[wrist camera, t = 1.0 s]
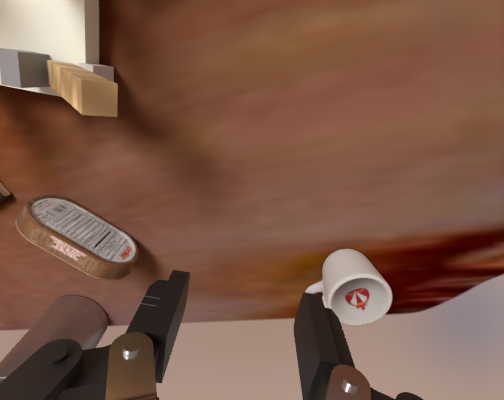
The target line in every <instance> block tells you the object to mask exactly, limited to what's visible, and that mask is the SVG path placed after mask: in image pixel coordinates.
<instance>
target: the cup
mask: <svg viewBox="0 0 504 400" xmlns="http://www.w3.org/2000/svg"><path fill="white" fill-rule="evenodd" d="M322 274H323V278H322V281H320V282H318V283H315V284H313V285H311V286H309V287H308V288H307V289H306V291H305V292H306V293H312V294H315V293H317V292H322V293H323V297H322V299H323V303H324V306H325V308H330V309H332V310H333V311H334V313H335V314H336V315H337V316H338V318H339V320H340V322H341V323H343V324H346V325H351V326H363V325H368V324H371V323H373V322H375V321H377V320H379V319H380V318H381V317H383V316H384V315H385V314H386V313H387V311H388V310H389V308H390V306H391V303H392V291H391V288H390V286H389V285H388V283H387V282H386V281H385V280H384V278H383V277H382V276H381V275H380V274H379V272H378V271H377V270H376V269H375V268H374V266H373V265H372V264H371V263H370V261H369V260H368V259H367V258H366V257H365V256H364V255H363V254H362V253H360V252H358V251H356V250H353V249H341V250H337V251H335V252H333V253H332V254H330V255H329V256H328V257H327V259H326V260H325V262H324V264H323V270H322Z"/></svg>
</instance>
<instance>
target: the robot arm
mask: <svg viewBox="0 0 504 400" xmlns="http://www.w3.org/2000/svg"><path fill="white" fill-rule="evenodd" d="M189 278H190V273H189V272H184V271H178V270H173V271H172V273H171V276H170V278H169V280H168V281H165V280H159V279H158V280H157V281H156V282H155V283H153V284H152V285H151V286H150V287H149V289H148V291H147V293H146V294H145V297H144V298H143V300H142V302H141V304H140V306H139V308H138V310H137V312H136V314H135V316H134V318H133V320H132V321H131V323H130V325H129V327H128V329H127V331H126V333H125V334H123V335H121V336H120V337H118V338H117V339H115V340H114V342H113V343H112V344H111V345H108V346H106V347H101V348H95V347H96V346H97V344H98V343H99V341H100V339H101V338H102V336H103V334H104V333H105V331H106V329H107V326H108V320H107V316H106V314H105V312H104V311H103V309H102V308H101V307H100V306H99V305H98V304H97V303H95V302H94V301H92V300H90V299H88V298H85V297H81V296H74V295H72V296H65V297H62V298H60V299H58V300H57V301H56V302H54V303H53V305H52V306H51V307H50V308H49V309H48V310H47V311H46V312H45V313H44V315H43V316H42V317H41V318H40V319H39V320H38V321H37V322H36V323H35V324H34V325H33V327H32V328H31V329H30V330H29V331H28V332H27V333H26V334H25V335H24V337H23V338H22V339H21V340H20V341H19V342H18V343H17V344H16V345H15V347H14V348H13V349H12V350H11V351H10V352H9V353H8V354H7V355H6V357H5V358H4V359H3V360H2V361H1V362H0V400H159V398H158V397H157V392H156V382H157V383H162V380H163V377H164V374H165V371H166V368H167V364H168V361H169V358H170V355H171V352H172V348H173V346H174V342H175V339H176V336H177V333H178V330H179V327H180V324H181V320H182V317H183V314H184V310H185V306H186V300H187V293H188V286H189ZM294 337H295V343H296V352H297V359H298V366H299V374H300V380H301V389H302V396H303V400H423V399H421V398H420V397H418V396H417V395H414V394H411V393H408V392H404V393H400V394H398V395H397V397H396V399H393V398H391V397H389V396H387V395H384V394H382V393H380V392H378V391H376V390H374V389H372V388H371V387H370V385H369V382H368V381H367V379H366V378H365V376H364V375H363V374H362V373H361V372H360V371H358V370H357V369H355V366H354V363H353V360H352V357H351V354H350V351H349V348H348V345H347V341H346V338H345V335H344V332H343V330H342V326H341V323H340V320H339V318H338V316H337V315H336V314H335V313H334V311H333V310H332V309H330V308H325V306H324V303H323V299H322V296H321V295H318V294H312V293H306V292H304V293H303V295H302V298H301V301H300V305H299V308H298V311H297V314H296V317H295V322H294Z"/></svg>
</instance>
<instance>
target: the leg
mask: <svg viewBox="0 0 504 400" xmlns="http://www.w3.org/2000/svg"><path fill="white" fill-rule="evenodd" d="M47 75H48V85H50V86H51V87H52V88H53V89H54V90H55V91H56V92H57V93H58V94H60V95H61V96H62V97H63V98H64V99H65V100H66V101H67V102H68V103H69V104H71V105H72V106H73V107H74V108H75V109H76V110H77V111H78V112H79V113H81V114H82V115H91V116H107V117H117V105H118V84H116V83H114V82H112V81H110V80H108V79H106V78H103V77H101V76H99V75H97V74H95V73H93V72H90V71H88V70H86V69H84V68H82V67H80V66H77V65H75V64H73V63H66V62H60V61H53V60H47Z"/></svg>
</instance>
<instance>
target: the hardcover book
mask: <svg viewBox="0 0 504 400" xmlns="http://www.w3.org/2000/svg"><path fill="white" fill-rule="evenodd" d="M12 194H13V193H11V194H10V193H9V192H8V190H7V189H6V188H5V187H4V186H3V185H2V184H1V183H0V202H1V201H3V200H5V199H6V198H8V197H9V196H11V195H12Z"/></svg>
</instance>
